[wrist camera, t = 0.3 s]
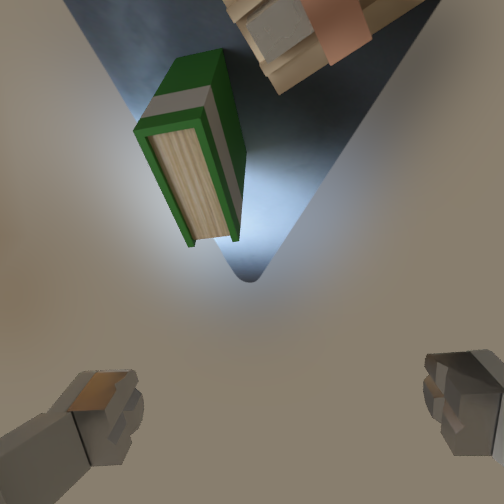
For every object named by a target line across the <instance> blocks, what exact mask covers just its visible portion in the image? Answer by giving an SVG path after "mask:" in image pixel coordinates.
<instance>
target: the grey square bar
mask: <svg viewBox="0 0 504 504" xmlns="http://www.w3.org/2000/svg"><path fill="white" fill-rule="evenodd" d="M246 27H247V29H248V31H249V33H250V34H251V36H252V38H253V40H254V41H255V43H256V45H257V46H258V48H259V50H260V52H261V53H262V55H263V57H264V59H265V60H266V62H267V64H269V63H270V62H272V61H273V60H275V59H276V58H278V57H279V56H280V55H282V54H283V53H285V52H286V51H287V50H289V49H290V48H292V47H293V46H295V45H296V44H297V43H299V42H300V41H302V40H303V39H304V38H306V37H307V36H309V35H310V34H311V33H313V32H314V29H313V27H312V25H311V23H310V20H309V18H308V16H307V14H306V12H305V10H304V7H303V5H302V3H301V1H300V0H267V1H266V2H265V3H263V4H262V5H261V6H260V7H258V8H257V9H256V10H255V11H253V12H252V13H251V14H250V15H248V16H247V21H246Z"/></svg>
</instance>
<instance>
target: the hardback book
mask: <svg viewBox="0 0 504 504" xmlns="http://www.w3.org/2000/svg"><path fill="white" fill-rule="evenodd" d="M133 132H134V134H135V136H136V138H137V141H138V142H139V145H140V147H141V149H142V151H143V153H144V155H145V157H146V159H147V161H148V163H149V166H150V168H151V170H152V172H153V174H154V176H155V178H156V180H157V183H158V185H159V187H160V189H161V191H162V193H163V195H164V197H165V199H166V202H167V204H168V206H169V208H170V210H171V212H172V214H173V216H174V218H175V220H176V223H177V225H178V227H179V229H180V231H181V233H182V235H183V237H184V239H185V242H186V243H187V246H188V247H195V242H196V240H198V239H205V238H214V237H222V236H229V235H230V236H231V239H232V242H236V241H239V237H240V225H241V213H242V201H243V189H244V177H245V166H246V154H247V152H246V147H245V143H244V139H243V135H242V130H241V126H240V122H239V118H238V113H237V109H236V105H235V101H234V96H233V92H232V88H231V83H230V79H229V75H228V71H227V66H226V62H225V58H224V54H223V49H222V48H220V49H215V50H211V51H206V52H202V53H197V54H193V55H188V56H184V57H179V58H176V59H175V61H174V62H173V64H172V66H171V67H170V69H169V71H168V72H167V74H166V76H165V78H164V79H163V81H162V83H161V84H160V86H159V88H158V89H157V91H156V93H155V94H154V96H153V98H152V99H151V101H150V103H149V105H148V106H147V108H146V110H145V111H144V113H143V115H142V116H141V118H140V120H139V121H138V123H137V125H136V126H135V128H134V130H133Z"/></svg>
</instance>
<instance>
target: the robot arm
mask: <svg viewBox="0 0 504 504" xmlns="http://www.w3.org/2000/svg"><path fill="white" fill-rule="evenodd" d="M424 367H425V368H426V370H427V371H428V373H429V375H428V376H427V377H426V378H425V379H424V382H423V392H424V398H425V403H426V405H427V407H428V410H429V412H430V414H431V416H432V418H433V419H435V420H437V421H438V422H440V423H441V434H442V435H443V437H444V439H445V441H446V442H447V444H448V446H449V448H450V449H451V451H452V453H453V455H454V456H492V458H493V459H494V460H496V461H497V462H498V463H500V464H501V465H502V466H504V363H503V362H502V361H501V360H500V359H499V358H498V357H497V356H496V355H495V354H494V353H493V352H492V351H489V350H487V349H484V350H473V351H466V352H451V353H436V354H435V353H434V354H427V355H426V358H425V366H424ZM137 383H138V378H137V375H136V372H135V371H134V370H132V369H131V370H130V369H127V370H100V371H84V372H81V373H79V374H78V375H77V377H76V378H75V379H74V380H73V381H72V382H71V384H70V385H69V386H68V387H67V389H66V390H65V391H64V392H63V393H62V395H61V396H60V397H59V398H58V400H57V401H56V402H55V403H54V405H53V406H52V407H51V408H50V409H49V411H48V412H47V413H41V414H39V415H37V416H36V417H34V418H32V419H31V420H29V421H27V422H26V423H24V424H22V425H21V426H19V427H17V428H16V429H14V430H13V431H11V432H9V433H7V434H6V435H4V436H3V437H1V438H0V504H54V503H55V502H56V501H58V500H59V499H60V498H61V497H62V496H63V495H64V494H65V493H66V492H67V491H68V490H69V489H70V488H71V487H72V486H73V485H74V484H75V483H76V482H77V481H78V480H79V479H80V478H81V477H82V476H83V475H84V474H85V473H86V472H87V471H88V470H89V469H90V467H91V466H108V465H122V463H123V461H124V459H125V456H126V454H127V452H128V450H129V448H130V446H131V444H132V441H131V437H130V435H131V434H133V433H134V432H135V431H136V430H137V429H138V428H139V426H140V423H141V421H142V417H143V412H144V401H143V396H142V393H141V392H139V391H138V390H137V389H136V388H135V387H136V385H137Z"/></svg>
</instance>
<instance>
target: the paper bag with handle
mask: <svg viewBox="0 0 504 504" xmlns="http://www.w3.org/2000/svg"><path fill="white" fill-rule="evenodd" d="M266 1H267V0H223V2H224V4H225V5H226V7H227V10H226V11H227V12H228V14H229V16H230V17H231V19H232V21H233V22H234V23H235V22H236V24H237V25H238V27H239V29H240V31H241V32H242V34H243V36H244V37H245V39H246V41H247V42H248V44H249V46H250V47H251V49H252V51H253V52H254V54H255V56H256V58H257V59H258V61H259V63H260V68H261V69H262V71H263V73H264V74H265V76H268V78H269V79H270V81H271V83H272V85H273V86H274V88H275V90H276V91H277V93H278V95H280V94H282V93H284V92H285V91H287V90H288V89H290V88H291V87H293V86H294V85H296V84H297V83H299V82H300V81H302V80H303V79H305V78H307V77H308V76H310V75H311V74H313V73H314V72H316V71H317V70H319V69H320V68H322V67H323V66H325V65H327V64H328V63H329V64H330V66H332V65H333V64H335V63H336V62H338V61H339V60H341V59H343V58H344V57H346V56H347V55H349V54H350V53H352V52H353V51H355V50H356V49H358V48H360V47H361V46H363V45H364V44H366V43H367V42H369V41H370V40H372V36H371V35H373V34H374V33H376V32H377V31H379V30H380V29H382V28H383V27H385V26H386V25H388V24H389V23H391V22H393V21H394V20H396V19H397V18H399V17H400V16H402V15H403V14H405V13H406V12H408V11H409V10H411V9H412V8H414V7H416V6H417V5H419V4H420V3H422V2H423V1H425V0H300V1H301V3H302V5H303V7H304V10H305V12H306V14H307V16H308V18H309V20H310V23H311V25H312V27H313V29H314V32H313V33H311V34H310V35H309V36H307V37H306V38H304V39H303V40H302V41H300V42H299V43H297V44H296V45H295V46H293V47H292V48H290V49H289V50H287V51H286V52H285V53H283V54H282V55H280V56H279V57H278V58H276V59H275V60H273V61H272V62H270V63H269V64H267V62H266V60H265V59H264V57H263V55H262V53H261V52H260V50H259V48H258V46H257V45H256V43H255V41H254V40H253V38H252V36H251V34H250V33H249V31H248V29H247V27H246V21H247V16H248V15H250V14H251V13H252V12H253V11H255V10H256V9H257V8H258V7H260V6H261V5H262V4H263V3H265V2H266Z"/></svg>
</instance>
